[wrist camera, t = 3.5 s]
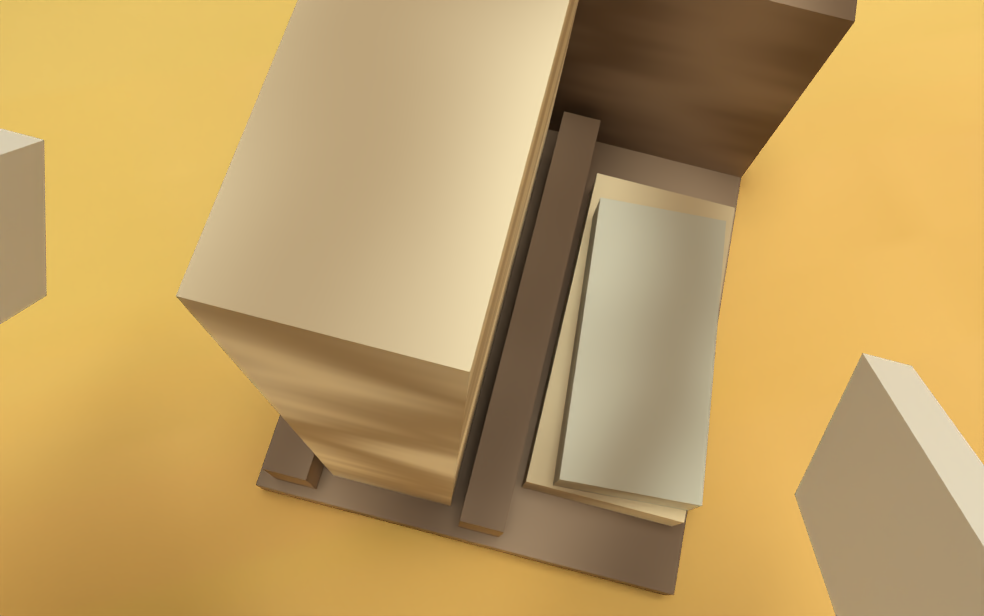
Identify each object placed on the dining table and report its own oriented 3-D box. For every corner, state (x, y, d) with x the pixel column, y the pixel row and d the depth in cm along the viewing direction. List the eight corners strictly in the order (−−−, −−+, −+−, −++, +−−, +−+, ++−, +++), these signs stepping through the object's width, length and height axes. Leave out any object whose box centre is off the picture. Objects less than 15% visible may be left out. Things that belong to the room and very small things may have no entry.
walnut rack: (263, 489, 24) (168, 432, 16) (405, 72, 29) (392, -140, 21) (664, 595, 24) (789, 595, 15) (737, 155, 29) (859, -26, 21)
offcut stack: (521, 487, 24) (531, 475, 21) (589, 192, 27) (605, 152, 25) (672, 526, 24) (699, 519, 21) (722, 225, 27) (751, 188, 25)
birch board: (333, 475, 23) (176, 295, 9) (442, 128, 28) (447, -362, 13) (450, 506, 23) (470, 371, 9) (542, 153, 27) (653, -313, 13)
